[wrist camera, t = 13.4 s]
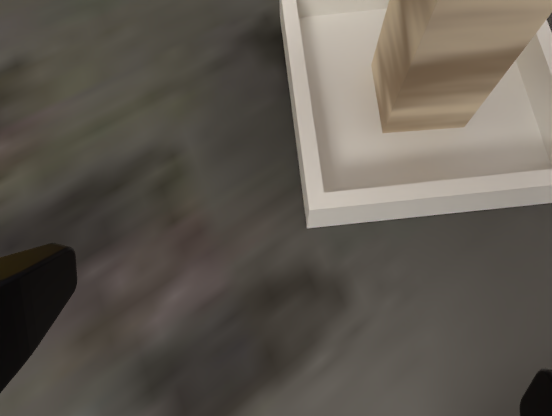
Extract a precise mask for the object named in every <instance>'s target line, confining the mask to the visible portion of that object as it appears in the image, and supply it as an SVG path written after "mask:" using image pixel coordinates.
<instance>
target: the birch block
mask: <svg viewBox="0 0 552 416" xmlns="http://www.w3.org/2000/svg"><path fill="white" fill-rule="evenodd" d="M551 13H552V0H389V3H388V7H387V10H386V14H385V17H384V21H383V25H382V28H381V32H380V35H379V39H378V42H377V46H376V50H375V53H374V57H373V60H372V64H371V67H372V73H373V79H374V85H375V91H376V97H377V103H378V109H379V115H380V121H381V127H382V133H393V132H406V131H420V130H433V129H447V128H461V127H465V126H466V124H467V123H468V122H469V120H470V119H471V118H472V116H473V115H474V114H475V113H476V111H477V110H478V109H479V107H480V106H481V105H482V103H483V102H484V101H485V99H486V98H487V97H488V96H489V94H490V93H491V92H492V90H493V89H494V88H495V86H496V85H497V84H498V82H499V81H500V80H501V78H502V77H503V76H504V75H505V73H506V72H507V71H508V69H509V68H510V67H511V65H512V64H513V63H514V61H515V60H516V59H517V58H518V56H519V55H520V54H521V52H522V51H523V50H524V48H525V47H526V46H527V44H528V43H529V42H530V40H531V39H532V38H533V37H534V35H535V34H536V33H537V31H538V30H539V29H540V27H541V26H542V25H543V23H544V22H545V21H546V20H547V18H548V17H549V16H550V14H551Z"/></svg>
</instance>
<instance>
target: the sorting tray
mask: <svg viewBox="0 0 552 416" xmlns="http://www.w3.org/2000/svg"><path fill="white" fill-rule="evenodd" d="M388 3H389V0H280V21H281V29H282V37H283V45H284V53H285V61H286V68H287V76H288V84H289V92H290V100H291V108H292V115H293V123H294V131H295V139H296V147H297V155H298V162H299V170H300V178H301V186H302V194H303V202H304V209H305V217H306V225H307V228H315V227H325V226H334V225H344V224H354V223H363V222H373V221H383V220H392V219H402V218H411V217H421V216H431V215H440V214H450V213H460V212H469V211H479V210H488V209H498V208H508V207H517V206H527V205H537V204H546V203H552V32H551V30H550V27H549V24H548V22H547V20H546V21H545V22H544V23H543V25H542V26H541V27H540V29H539V30H538V31H537V33H536V34H535V35H534V37H533V38H532V39H531V40H530V42H529V43H528V44H527V46H526V47H525V48H524V50H523V51H522V52H521V54H520V55H519V56H518V58H517V59H516V60H515V61H514V63H513V64H512V65H511V67H510V68H509V69H508V71H507V72H506V73H505V75H504V76H503V77H502V78H501V80H500V81H499V82H498V84H497V85H496V86H495V88H494V89H493V90H492V92H491V93H490V94H489V96H488V97H487V98H486V99H485V101H484V102H483V103H482V105H481V106H480V107H479V109H478V110H477V111H476V113H475V114H474V115H473V116H472V118H471V119H470V120H469V122H468V123H467V124H466V126H465V127H461V128H447V129H433V130H420V131H406V132H393V133H382V127H381V121H380V115H379V109H378V103H377V97H376V91H375V85H374V79H373V73H372V67H371V64H372V60H373V57H374V53H375V50H376V46H377V42H378V39H379V35H380V32H381V28H382V25H383V21H384V17H385V14H386V10H387V7H388Z"/></svg>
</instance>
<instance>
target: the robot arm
mask: <svg viewBox="0 0 552 416" xmlns="http://www.w3.org/2000/svg"><path fill="white" fill-rule="evenodd" d="M76 285H77V270H76V256H75V251H74V250H73V249H72V248H71V247H68V246H65V245H61V244H57V243H50V244H47V245H43V246H40V247H36V248H33V249H29V250H25V251H22V252H18V253H15V254H11V255H8V256H4V257H1V258H0V393H1V392H2V390H3V389H4V388H5V387H6V386H7V384H8V383H9V382H10V381H11V379H12V378H13V377H14V376H15V375H16V373H17V372H18V371H19V370H20V369H21V367H22V366H23V365H24V364H25V362H26V361H27V360H28V359H29V357H30V356H31V355H32V353H33V352H34V350H35V349H36V348H37V346H38V345H39V343H40V342H41V340H42V339H43V337H44V336H45V334H46V333H47V332H48V330H49V329H50V327H51V326H52V324H53V323H54V321H55V320H56V318H57V317H58V315H59V314H60V312H61V311H62V309H63V308H64V306H65V305H66V303H67V302H68V300H69V299H70V297H71V296H72V294H73V293H74V291H75V288H76ZM520 416H552V370H550V369H541V370H540V371H538V373H537V374H536V375H535V377H534V379H533V380H532V382H531V384H530V385H529V387H528V389H527V390H526V392H525V394H524V395H523V397H522V399H521V402H520Z"/></svg>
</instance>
